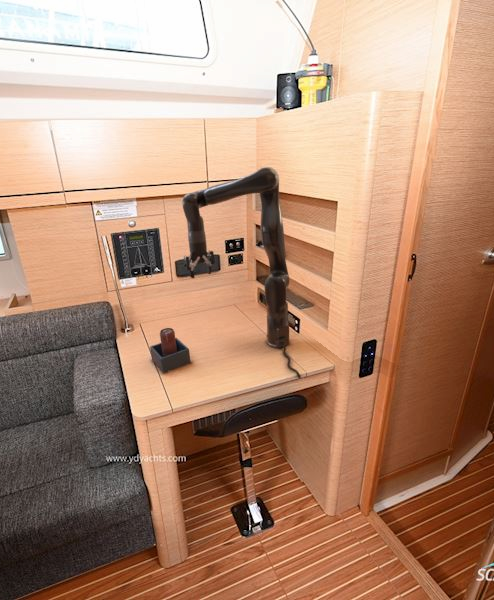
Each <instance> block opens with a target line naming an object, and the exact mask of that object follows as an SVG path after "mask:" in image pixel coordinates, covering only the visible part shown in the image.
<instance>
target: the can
mask: <svg viewBox="0 0 494 600" xmlns="http://www.w3.org/2000/svg"><path fill="white" fill-rule="evenodd" d="M159 331H160V332H159V338H160V343H161V345H162V352H163V357H165V356H168V355H171V354H173V353H176V352H177V347H176V339H175V338H176V333H175V330H174V329H173V328H171V327H165V328H163V329H160V330H159Z"/></svg>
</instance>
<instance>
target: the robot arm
mask: <svg viewBox="0 0 494 600" xmlns="http://www.w3.org/2000/svg"><path fill="white" fill-rule="evenodd" d="M252 194H259V198H260V204H261V206H260V207H261V209H260V226H259V227H260V228H259V229H260V236H261V244H262V247H263V249H264V252H265V254H266V257H267V259H268V266H269V275H268V277H267V278H266V280H265V282H264V303H265V305H266V342H267V345H268V346H270V347H273V348H276V349H281V348H283V351H282V354H283V355H284V357H285V358H287V364H286V365H287V368H288V369H289V370H290V371H292V372H294V373H295V374H296V376H297V378H298V379H301V375H300V373H299V371H298V370H297V369H295V368H293V367H291V357H290V356H289V355H287V353H286V350H287V346H288V345H290V324H289V316H288V315H289V302H288V301H287V290H288V288H289V286H290V275H289V270H288V265H287V261H286V244H285V230H284V223H283V216H282V215H283V214H282V210H281V205H280V176H279V173H278V172H277V170H276V169H275V168H273V167H271V166H264V167H260V168H259V169H258V170H256V171H254V172H252V173H250V174H248V175H246V176H244V177H241V178H239V179H235V180H230V181H227V182H226V181H225V182H222V183H219V184H215V185H212V186H209V187H206V188H204V189H200V190H196V191H192V192H188V193H186V194H184V196H183V197H182V203H181V204H182V210H183V214H184V216H185V219H186V225H187V239H188V248H189V255H184V256H183V266H184V269H185V270H187V271H188V273H189V277H190V278H191V279H195V271H194V269H195V267H197V265H200V264H203V263H205V264H206V273H207V274H208V275H211V274H212V265H214V264H215V263H216V261H215V254H214V251H213V250H210V249H209V250H208V247H207V237H206V231H205V222H204V221H205V220H204V218H203V216H202V215H201V213H200V209H202V208H204V207H205V208H206V207H208V206H212V205H213V206H214V205H218V204H221V203H224V202H225V203H226V202H228V201H230V200H233V199H236V198H238V197H239V198H240V197H243V196H245V195H246V196H247V195H252ZM207 257H208V258H207Z"/></svg>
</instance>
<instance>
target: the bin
mask: <svg viewBox="0 0 494 600" xmlns="http://www.w3.org/2000/svg"><path fill="white" fill-rule="evenodd" d="M175 339H176V347H177V352H176V353H173V354H171V355H168V356H165V357H163V352H162V345H161V342H159V343H156V344H153V345H150V346H149V350H150V355H151V361H152V362H153V363H154V364H155V366H156V367H157V368H158V369H159V370H160V371H161V373H162V374H165V373H168V372H170V371H173V370H175V369H178V368H181V367H183V366H186V365H188V364H191V353H190V348H189V347H188V346H186V345H185V344H184V343H183V342H182V341H181V340H180V339H179V338H178V337H175Z"/></svg>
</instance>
